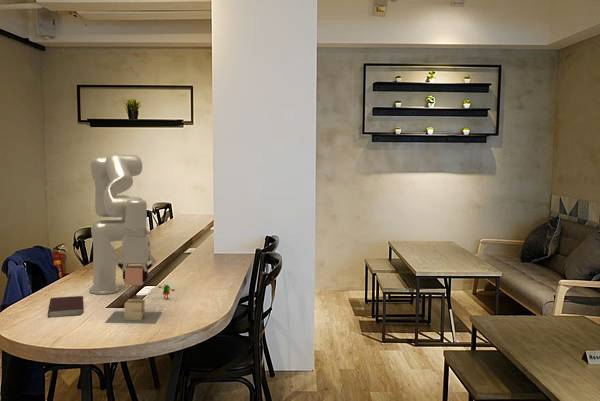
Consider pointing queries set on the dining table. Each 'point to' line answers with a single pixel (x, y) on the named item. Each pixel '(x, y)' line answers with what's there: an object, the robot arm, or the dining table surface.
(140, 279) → the terracotta block
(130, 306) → the maple block
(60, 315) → the book
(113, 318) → the plate
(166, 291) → the toy character
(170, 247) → the dining table surface
